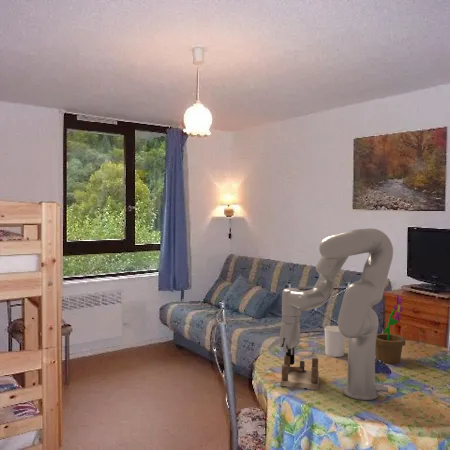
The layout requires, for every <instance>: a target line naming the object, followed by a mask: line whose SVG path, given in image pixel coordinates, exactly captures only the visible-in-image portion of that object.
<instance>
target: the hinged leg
mask: <svg viewBox="0 0 450 450" xmlns="http://www.w3.org/2000/svg"><path fill="white" fill-rule="evenodd" d="M305 362H306V361H305V360H300V361H299V366H291V365H290V356H286V355H284V356H283V365H288V366H290V371H294V372H304V370H305V364H306V363H305Z"/></svg>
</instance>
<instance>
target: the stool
mask: <svg viewBox="0 0 450 450" xmlns="http://www.w3.org/2000/svg"><path fill="white" fill-rule="evenodd" d="M290 367H291V365H290V366H288V365H284V364H281V377H280V380H279V381H280V382H279V383H280V385H279V386H280V387H282V386H287V387H286V388H293V387H296V388H295V389H304V388H307V389H306V390H317V391H318V390H319V385H320V384H319V382H320V380H319V378H320V377H319V374H320V371H319V358H317V357H312V358H311V370H307V369H306V370H305V369H304V372H294V371H290Z"/></svg>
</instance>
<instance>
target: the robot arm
mask: <svg viewBox="0 0 450 450" xmlns="http://www.w3.org/2000/svg"><path fill="white" fill-rule="evenodd" d="M318 249H319V253H320V255H321V256H320V258H319V259H318V262H317V263H316V265H315V270H316V273H317V274H318V275H319V276H318V279H317V281H316V283H315V284H314V286H313V287H312V289H308V290H307V289H306V290H303V291H301V290H300V289H299V288H296V287H286V288H284V289H283V290H282V292H281V293H282V294H281V295H282V296H281V297H282V299H281V326H280V330H279V331H280V332H279V341H278V342H279V343H278V344H279V347H280V348H283V349H282V351H283V353H284V354H285V356H290V366H293V365H294V364H295V354H296V348H297V347H298V345H299V344H300V343H301V341H300V340H301V327H300V326H301V325H300V324H301V313H302V312H306V311H307V312H308V311H312V310H314V309H317V308H320V307H322V306H323V305H325V303H326V301H327V300H328V298H329V297H330V296H331V294H332V292H333V291H334V288H335V283H336V277H337V276H338V274H339V273H340V272H341V271H340V270H341V269H342V267H343V266H344V264H345V263H346V262H347V260H348V258H349V257H350V256H351V257H352V256H355V255H361V254H368V257H367V259H366V261H365V263H364V266H363V269H362V273H361V275H360V278H359V280H356V281H353V282H352V283H350V284H349V285H348V286H347V287H346V289H345V291H344V294H343V297H342V301H341V305H340V309H339V313H338V317H337V326H338V328H339V331H340V332H341V334H342V335H343V336H345V337H346V338H347V339H348V345H347V372H346V373H347V377H346V378H347V379H346V383H347V384H346V385H344V386H343V387H342V393H343V394H344V395H345V396H347V397H348V398H352V399H355V400H358V401H359V400H361V401H372V400H375V399H377V398H379V396H380V395H379V392H383V393H389V386H384V384H381V383H380V384H379V383H377V382H376V380H375V378H376V377H375V372H376V354H375V352H376V337H377V334H378V330H379V317H378V314H377V313H376V311H375V310H374V309H373V308H371V307H372V306H376V305H378V304H379V303H380V302H381V301H382V299H383V295H384V292H385V288H386V284H387V280H388V275H389V272H390V268H391V265H392V261H393V256H394V247H393V244H392V241H391V239H390V237H388V235H387V234H386V233H385V232H384V231H381V230H379V229H377V228H372V227H371V228H358V229H357V228H356V229H353V230H348V231H345V232H342V233H337V234H333V235H329V236H326V237H324V238H323V239H321V242H320V243H319V248H318ZM301 311H302V312H301Z"/></svg>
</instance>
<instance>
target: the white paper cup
mask: <svg viewBox="0 0 450 450" xmlns="http://www.w3.org/2000/svg"><path fill="white" fill-rule="evenodd" d="M346 338H347V337H345V336H343V335H342V334H341V332H340V331H339V328H338V325H328V326H324V350H325V351H324V353H325V355H326V356H328V357H331V358H341V357H344V355H345V346H346Z"/></svg>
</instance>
